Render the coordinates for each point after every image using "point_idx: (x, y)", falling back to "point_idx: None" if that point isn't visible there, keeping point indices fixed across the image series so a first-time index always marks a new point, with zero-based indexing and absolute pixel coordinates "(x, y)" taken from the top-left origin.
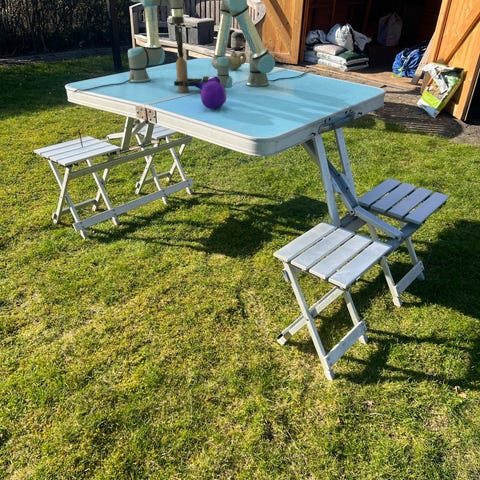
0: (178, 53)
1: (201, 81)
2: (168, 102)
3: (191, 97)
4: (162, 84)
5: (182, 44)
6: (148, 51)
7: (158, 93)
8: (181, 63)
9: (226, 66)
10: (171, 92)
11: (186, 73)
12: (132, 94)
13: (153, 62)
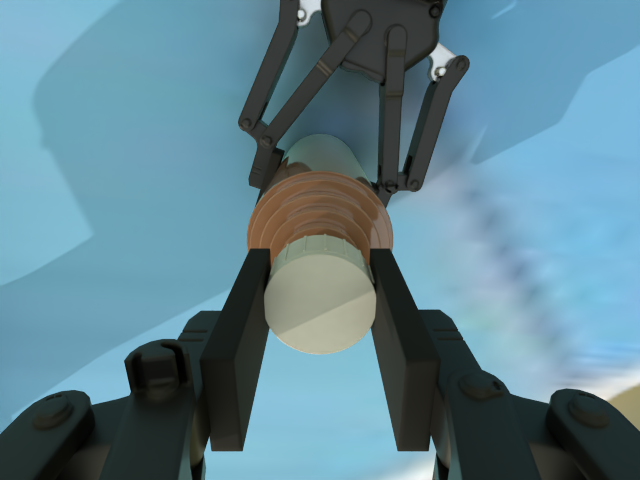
0: (354, 341)
1: (425, 17)
2: (574, 296)
3: (520, 145)
4: (41, 279)
5: (609, 414)
6: None
7: None
8: (391, 249)
9: None
10: None
11: (357, 166)
12: (295, 441)
13: None
